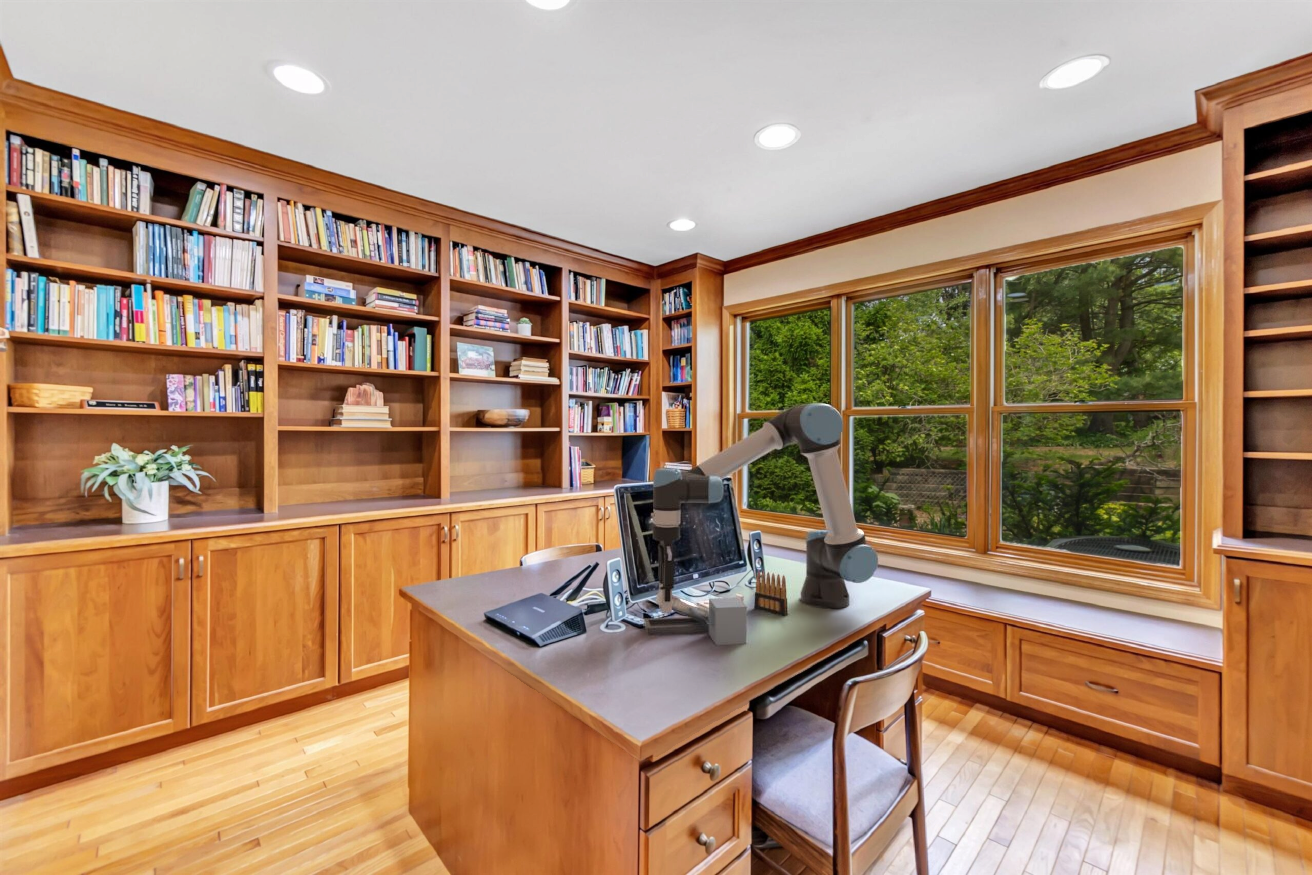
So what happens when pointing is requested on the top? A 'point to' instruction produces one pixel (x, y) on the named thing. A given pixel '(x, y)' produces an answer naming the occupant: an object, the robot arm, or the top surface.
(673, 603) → the axle
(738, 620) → the gray rectangular block
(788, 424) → the robot arm
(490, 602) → the top surface
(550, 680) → the top surface
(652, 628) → the dark brown shallow tray
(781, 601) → the ammunition clip
